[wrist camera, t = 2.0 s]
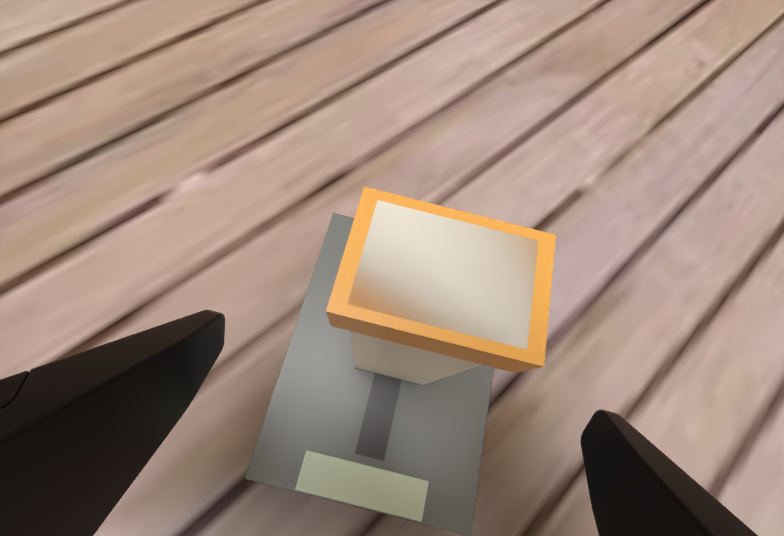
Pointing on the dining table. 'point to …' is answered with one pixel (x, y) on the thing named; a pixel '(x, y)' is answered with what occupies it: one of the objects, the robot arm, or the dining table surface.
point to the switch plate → (370, 422)
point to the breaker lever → (441, 290)
